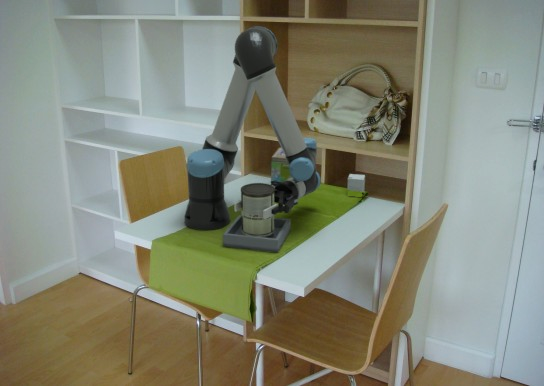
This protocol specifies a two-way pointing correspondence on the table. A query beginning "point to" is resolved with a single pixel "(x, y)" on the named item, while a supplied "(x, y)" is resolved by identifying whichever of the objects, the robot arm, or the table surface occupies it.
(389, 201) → the table surface
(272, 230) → the coffee can
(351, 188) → the skincare box
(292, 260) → the table surface
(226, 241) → the grey square tray
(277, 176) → the tea box
